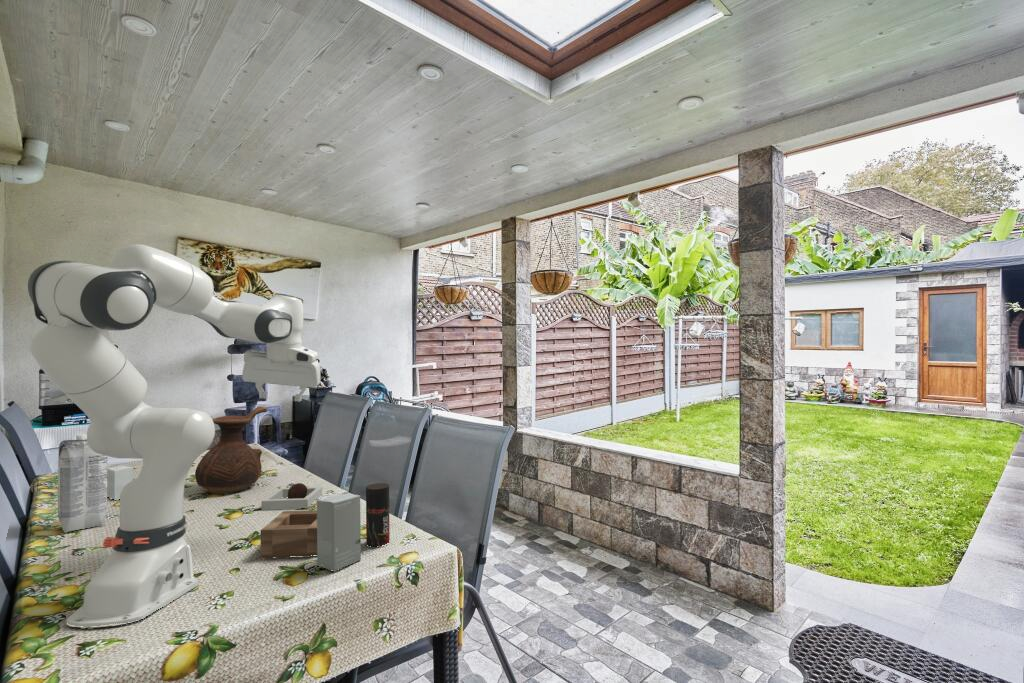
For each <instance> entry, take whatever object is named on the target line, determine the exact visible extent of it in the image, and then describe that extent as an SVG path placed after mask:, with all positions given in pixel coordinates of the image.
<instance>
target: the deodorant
mask: <svg viewBox="0 0 1024 683" xmlns="http://www.w3.org/2000/svg"><path fill="white" fill-rule="evenodd" d="M365 506H366V507H365V515H366V516H365V525H366V526H365V529H366V530H365V537H366V538H365V540H366V544H367V545H368V546H371V547H377V546H382V545H385V544H387V543H389V544H390V542H389V541H390V540H391V539H390V532H391V531H390V484H388V483H385V482H377V483H371V484H368V485H367V486H366V487H365ZM367 545H366V546H367ZM368 546H367V547H368ZM371 547H370V548H371Z"/></svg>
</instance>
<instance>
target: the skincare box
mask: <svg viewBox="0 0 1024 683" xmlns="http://www.w3.org/2000/svg"><path fill="white" fill-rule="evenodd" d="M316 510H317V557H316V566H317V567H318V566H319V567H318V568H321V567H323V568H322V569H324V568H326V569H325V570H327V569H329V570H328V571H330V570H333V571H336V570H338V569H340V570H342V569H344V568H346V567H345V566H347V567H348V565H349V566H350V564H351V565H353V564H354V563H357V562H359V561H361V560H362V555H361V554H362V546H361V544H362V543H361V542H362V539H361V537H362V535H361V532H362V531H361V527H362V526H361V495H359V494H353V493H347V492H343V493H338V494H334V495H329V496H327V497H324V498H319V499H318V500H317V501H316ZM352 563H353V564H352ZM343 567H344V568H343ZM341 568H342V569H341ZM338 571H339V570H338ZM336 572H337V571H336Z"/></svg>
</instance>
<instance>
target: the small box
mask: <svg viewBox="0 0 1024 683" xmlns="http://www.w3.org/2000/svg"><path fill="white" fill-rule="evenodd" d="M132 480H134V467H133V466H128V465H124V464H123V465H118V466H112V467H107V497H109V498H112V499H114V500H116V499H120V493H121V491H122V489H123V488H124V487H125V486H126V485H127V484H128V483H129V482H131V481H132ZM109 498H108V499H109ZM114 500H113V501H114ZM116 501H117V500H116Z"/></svg>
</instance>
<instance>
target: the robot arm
mask: <svg viewBox="0 0 1024 683" xmlns="http://www.w3.org/2000/svg"><path fill="white" fill-rule="evenodd" d="M27 291H28V295H29V298H30V300H31V302H32V304H33V311H34V315H35V317H36V319H37V320H39V321H40V322H42V323H44V324H46V325H45V327H44V328H42V329H41V330H39V331H38V332H37V333H36V334H35V335H34V336H33V338H32V339H31V342H30V348H29V349H30V353H31V355H32V357H33V358H34V360H35V361H36V363H37V364H38V366H39V367H40V368H41V370H42V372H43V373H45V375H46V377H47V378H49V379H50V381H51V382H52V383H53V384H54V385H55V387H57V388H58V389H59V390H60V391H61V392H62V393H63V394H64V395H66V397H68V398H69V400H71V402H73V403H74V404H75V405H76V406H77V407H78V408H79V409H80V410H81V412H83V413H84V414H85V415H86V417H87V418H88V419H89V421H90V424H89V425H88V427H87V431H86V434H87V442H88V445H89V447H90V448H91V449H92V450H93V451H94V452H96V453H98V454H102V455H106V456H107V457H111V458H115V459H133V460H134V459H142V466H141V470H140V472H139V474H138V476H137V477H136V478H133V480H132V481H131V482H129V483H128V484H127V485H126V486H125V487H124V488H123V489H122V491H121V493H120V500H119V526H118V527H117V530H116V533H115V535H114V536H113V537H111V536H107V537H105V538H104V541H102V547H103V548H104V549H106V548H107V549H108V548H112V551H111V553H110V554H109V556H108V557H107V558H106V560H105V561H104V562H103V564H102V565H101V566H100V567H99V569H98V570H97V572H96V573H95V575H94V576H93V577H92V578H91V579H90V581H89V582H88V583H87V585H86V587H85V590H84V597H83V603H82V605H81V606H80V607H79V608H78V609H77V610H75V611H74V612H73V613H72V614H71V615H69V617H68V618H66V622H65V624H66V623H68V624H70V625H74V626H83V627H91V626H101V625H108V624H114V623H115V624H116V623H117V624H118V623H119V624H120V623H128V622H132V621H136V620H140V619H143V618H145V617H146V616H148V615H150V614H151V613H153V612H154V611H156V610H158V609H159V610H161V609H163V608H164V607H165V606H167V605H169V604H170V602H171V603H172V602H173V600H174V601H175V600H177V599H178V598H180V597H181V596H183V595H185V594H186V593H188V592H189V591H191V590H192V589H194V588H196V587H198V585H199V584H200V582H199V578H197V577H195V576H194V567H193V558H192V550H191V546H190V545H189V543H188V541H187V540H186V537H185V534H186V531H187V521H186V516H185V515H184V496H185V486H186V479H187V477H188V474H189V471H190V469H191V467H192V465H193V464H194V462H195V461H196V460H197V459H198V457H200V455H202V454H204V453H205V452H206V451H207V450H208V449H209V448H210V447H211V445H212V443H213V442H214V438H215V435H216V426H215V423H214V422H213V420H212V419H213V418H212V416H210V415H209V413H207V412H205V411H202V410H197V409H193V408H188V407H156V406H151V405H148V404H147V403H146V402H144V400H145V398H146V395H147V392H148V382H147V379H146V378H145V377H144V376H143V375H142V374H141V373H140V372H139V371H138V369H137V368H136V367H135V366H134V365H133V364H132V362H130V360H129V359H128V358H127V357H126V356H125V354H124V353H123V352H122V351H121V350H120V348H118V347H117V346H116V345H114V342H113V340H112V337H111V336H110V331H126V330H131V329H134V328H136V327H137V326H139V325H141V324H142V323H143V322H144V321H145V320H146V319H147V318H148V316H149V315H150V313H151V311H152V309H153V307H154V306H156V307H160V308H161V309H163V310H167V311H170V312H175V313H178V314H182V315H188V316H195V317H196V318H198V319H201V320H202V321H205V322H206V323H207V324H209V325H210V326H211V327H212V328H213V329H214V330H215V332H217V334H219V335H220V336H222V337H223V338H227V339H236V340H237V339H238V340H244V341H247V342H255V343H259V344H266V349H256V348H250V349H248V350H246V351H245V352H244V353H243V363H244V364H243V369H242V373H241V374H242V375H241V378H242V380H243V381H244V382H245V383H246V382H247V383H255V388H256V389H257V392H258V394H259V395H258V398H259V399H266V398H267V397H268V396H267V395H268V391H265V390H264V388H263V386H264V384H267V385H268V384H270V385H278V386H279V385H280V386H290V387H293V386H294V387H299V390H300V392H299V393H296V394H295V395H294V399H293V400H294V402H299V403H300V402H301V401H302V399H303V397H302V396H303V394H304V393H305V391H306V390H307V388H316V387H318V386H319V385H320V383H321V365H320V363H319V361H318V358H319V353H318V352H317V351H315V350H313V349H310V348H309V347H305V346H303V345H302V344H303V342H302V330H303V328H304V315H305V314H304V304H303V301H302V299H300V298H299V297H297V296H294V295H289V294H285V293H274V294H272V297H271V298H270V299H269V300H268V301H266V302H263V303H262V304H259V305H258V304H257V305H256V304H251V303H244V302H240V301H237V300H221V299H219V298H218V297H216V296H214V282H213V279H212V278H211V277H210V275H208V274H207V273H206V272H205V271H204V270H202V269H201V268H199V267H198V266H196V265H195V264H192V263H191V262H189V261H186V260H184V259H183V258H180V257H178V256H177V255H175V254H172V253H170V252H167V251H165V250H162V249H159V248H155V247H152V246H149V245H146V244H140V243H139V244H138V243H136V244H135V243H134V244H129V245H126V246H124V247H123V248H120V249H119V250H118V252H116V254H115V255H114V256H113V257H112V260H111V262H110V263H109V264H108V265H106V266H100V265H95V264H93V263H92V264H90V263H84V262H77V261H73V260H56V261H50V262H47V263H43V264H42V265H40V266H38V267H36V268H35V269H34V270H33V271H32V273H30V275H29V277H28V280H27ZM162 607H163V608H162ZM160 608H161V609H160ZM159 610H158V611H159ZM156 612H157V611H156ZM153 614H154V613H153ZM151 615H152V614H151ZM151 615H150V616H151ZM148 617H149V616H148ZM145 619H146V618H145ZM143 620H144V619H143Z"/></svg>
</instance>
